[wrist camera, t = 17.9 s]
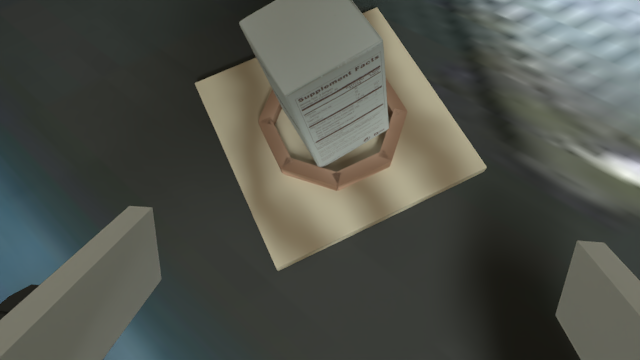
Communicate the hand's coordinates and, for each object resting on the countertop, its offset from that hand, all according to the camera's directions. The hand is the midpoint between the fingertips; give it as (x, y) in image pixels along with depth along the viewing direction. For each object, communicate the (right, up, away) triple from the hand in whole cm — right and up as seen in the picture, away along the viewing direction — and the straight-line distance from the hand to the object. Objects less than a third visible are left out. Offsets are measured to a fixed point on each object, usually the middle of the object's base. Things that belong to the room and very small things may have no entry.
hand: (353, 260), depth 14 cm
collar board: (0, +7, +28) cm, 29 cm away
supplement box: (0, +8, +26) cm, 28 cm away
